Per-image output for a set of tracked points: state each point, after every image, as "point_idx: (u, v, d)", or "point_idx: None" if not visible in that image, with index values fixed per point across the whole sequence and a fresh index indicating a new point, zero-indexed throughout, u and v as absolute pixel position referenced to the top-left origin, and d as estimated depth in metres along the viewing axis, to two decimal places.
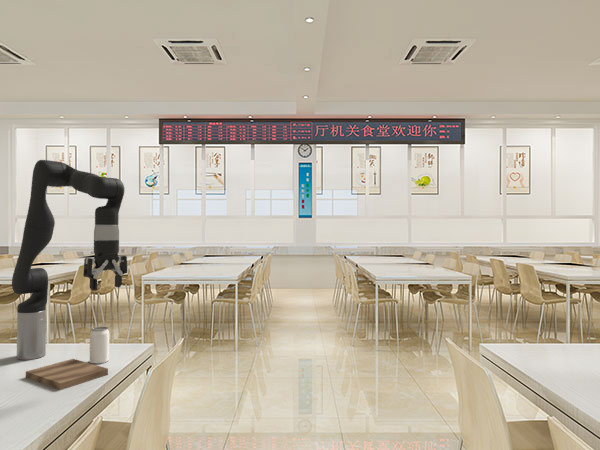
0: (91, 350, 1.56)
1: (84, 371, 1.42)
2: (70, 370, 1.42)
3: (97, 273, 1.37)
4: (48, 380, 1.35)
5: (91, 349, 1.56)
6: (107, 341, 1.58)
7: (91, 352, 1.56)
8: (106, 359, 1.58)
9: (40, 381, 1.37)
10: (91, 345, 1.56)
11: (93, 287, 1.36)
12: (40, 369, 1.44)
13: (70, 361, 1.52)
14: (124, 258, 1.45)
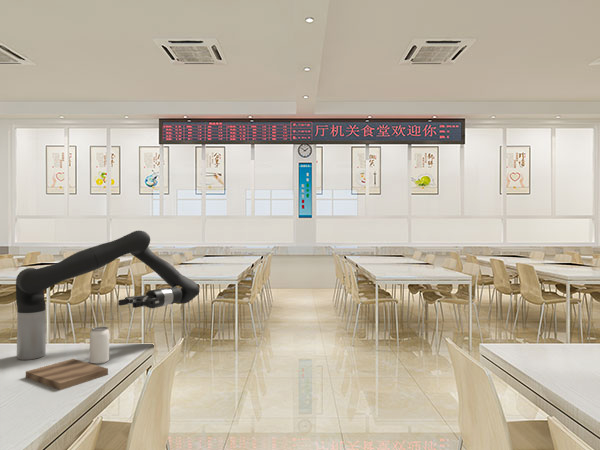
0: (91, 350, 1.56)
1: (84, 371, 1.42)
2: (70, 370, 1.42)
3: None
4: (48, 380, 1.35)
5: (91, 349, 1.56)
6: (107, 341, 1.58)
7: (91, 352, 1.56)
8: (106, 359, 1.58)
9: (40, 381, 1.37)
10: (91, 345, 1.56)
11: (136, 306, 1.66)
12: (40, 369, 1.44)
13: (70, 361, 1.52)
14: None
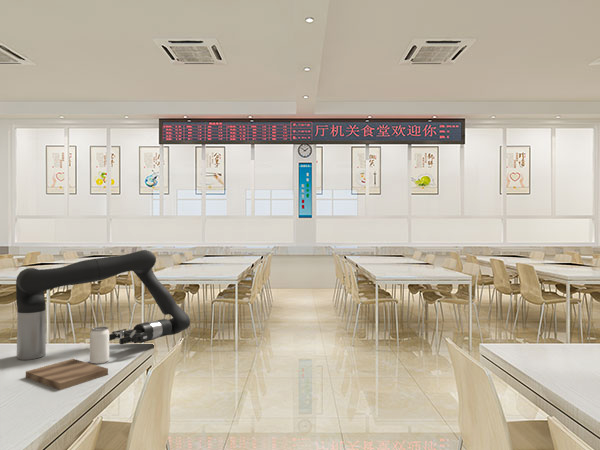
0: (91, 350, 1.56)
1: (84, 371, 1.42)
2: (70, 370, 1.42)
3: None
4: (48, 380, 1.35)
5: (91, 349, 1.56)
6: (107, 341, 1.58)
7: (91, 352, 1.56)
8: (106, 359, 1.58)
9: (40, 381, 1.37)
10: (91, 345, 1.56)
11: None
12: (40, 369, 1.44)
13: (70, 361, 1.52)
14: None
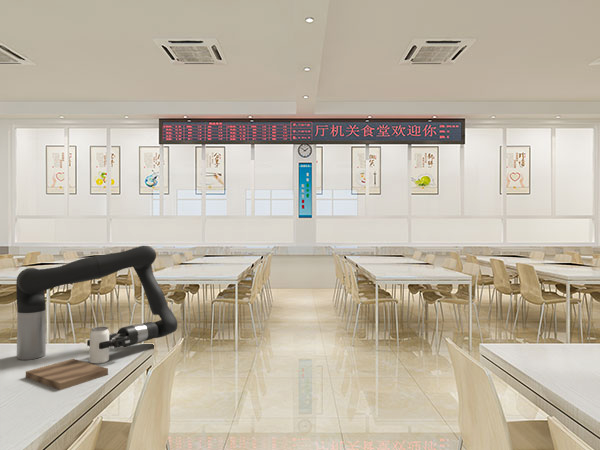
0: (91, 350, 1.56)
1: (84, 371, 1.42)
2: (70, 370, 1.42)
3: None
4: (48, 380, 1.35)
5: (91, 349, 1.56)
6: None
7: (91, 352, 1.56)
8: (106, 359, 1.58)
9: (40, 381, 1.37)
10: (91, 345, 1.56)
11: None
12: (40, 369, 1.44)
13: (70, 361, 1.52)
14: None
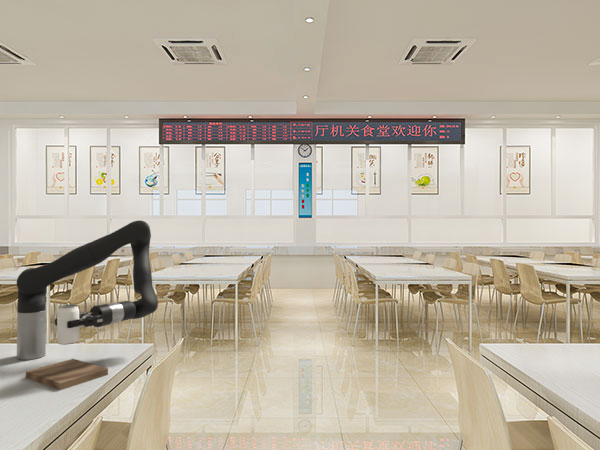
0: (59, 330, 1.41)
1: (84, 371, 1.42)
2: (70, 370, 1.42)
3: None
4: (48, 380, 1.35)
5: (58, 328, 1.41)
6: (76, 319, 1.43)
7: (58, 332, 1.41)
8: (76, 339, 1.42)
9: (40, 381, 1.37)
10: (58, 324, 1.41)
11: (72, 326, 1.40)
12: (40, 369, 1.44)
13: (70, 361, 1.52)
14: None
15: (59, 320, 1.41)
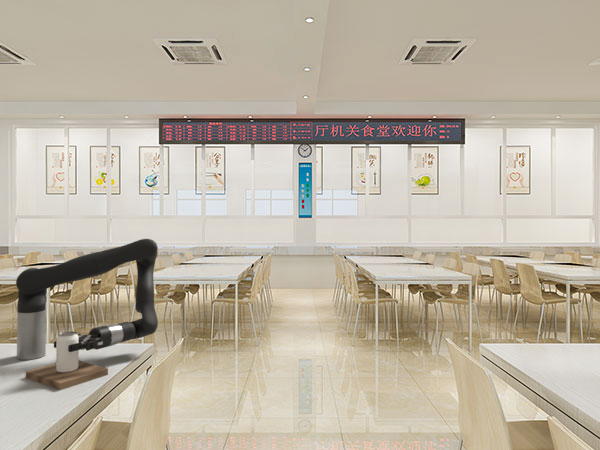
0: (58, 358, 1.40)
1: (84, 371, 1.42)
2: None
3: None
4: (48, 380, 1.35)
5: (58, 356, 1.41)
6: None
7: (58, 360, 1.41)
8: (75, 367, 1.42)
9: (40, 381, 1.37)
10: (57, 352, 1.41)
11: None
12: (40, 369, 1.44)
13: None
14: None
15: (58, 348, 1.40)
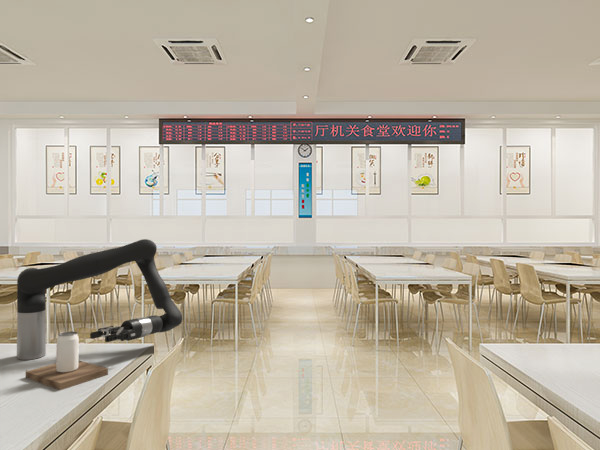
0: (58, 358, 1.40)
1: (84, 371, 1.42)
2: None
3: None
4: (48, 380, 1.35)
5: (58, 356, 1.41)
6: (75, 347, 1.42)
7: (58, 360, 1.41)
8: (75, 367, 1.42)
9: (40, 381, 1.37)
10: (58, 352, 1.41)
11: None
12: (40, 369, 1.44)
13: None
14: None
15: (58, 348, 1.40)
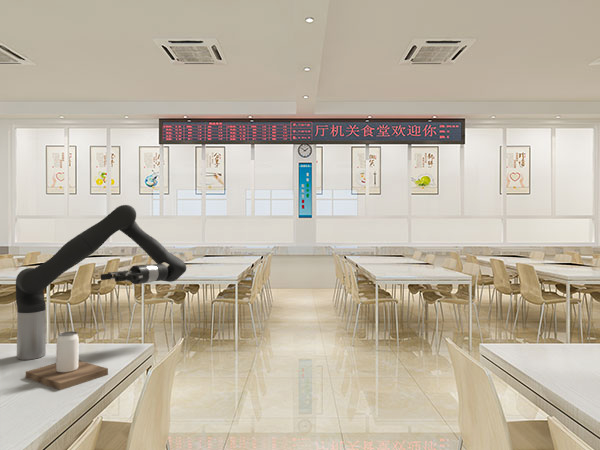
0: (58, 358, 1.40)
1: (84, 371, 1.42)
2: None
3: None
4: (48, 380, 1.35)
5: (58, 356, 1.41)
6: (75, 347, 1.42)
7: (58, 360, 1.41)
8: (75, 367, 1.42)
9: (40, 381, 1.37)
10: (58, 352, 1.41)
11: None
12: (40, 369, 1.44)
13: None
14: None
15: (58, 348, 1.40)
